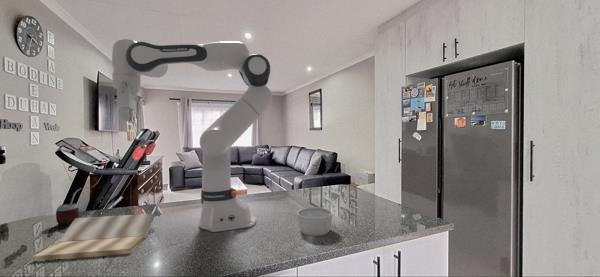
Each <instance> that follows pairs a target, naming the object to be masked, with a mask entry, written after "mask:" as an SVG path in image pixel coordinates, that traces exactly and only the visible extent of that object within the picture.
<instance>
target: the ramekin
mask: <svg viewBox="0 0 600 277" xmlns="http://www.w3.org/2000/svg"><path fill="white" fill-rule="evenodd" d="M296 217H297V221H298V227H299V230H300V232H301V233H303V235H306V236H310V237H320V236H325V235H327V234H328V233H329V232H330V231H331V228H332V220H333V219H332V218H333V212H332V211H331V210H330V209H327V208H325V207H306V208H302V209H299V210H298V211H297V212H296Z"/></svg>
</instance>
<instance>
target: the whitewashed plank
mask: <svg viewBox="0 0 600 277" xmlns="http://www.w3.org/2000/svg"><path fill="white" fill-rule="evenodd" d="M154 217H155V215H154V213H141V214H139V213H138V214H127V215H126V214H124V215H122V214H121V215H109V216H106V215H104V216H93V217H89V216H88V217H78V218H75V219H74V221H73V222H72V223H71V224H70V226H68V227H67V229H66V231H64V233H63V234H62V236H61V238H60V239H59V240H58V242H68V241H81V240H95V239H109V238H122V237H136V236H144V240H145V239H146V237H147V236H148V233H149V230H150V227H151V225H152V223H153V220H154Z"/></svg>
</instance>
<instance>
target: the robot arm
mask: <svg viewBox="0 0 600 277" xmlns="http://www.w3.org/2000/svg"><path fill="white" fill-rule="evenodd" d="M111 55H112V56H111V60H112V61H111V64H112V67H113V71H112V88H113V89H115V90H116V104H117V107H119V108H120V109H121V114H122V115H121V116H122V120H123V121H124V122H125V121H126V122H133V115H134V111H136V110H137V104H138V93H139V92H140V91H141V86H142V85H141V76H147V77H149V78H161V77H164V76H165V74H166V73H167V71H168V66H169V65H174V64H175V65H176V64H191V65H194V66H197V67H199V68H200V69H203V70H205V71H211V72H212V71H213V72H218V71H228V70H237V71H238V73H239V75H240V77H241V78H242V81H243V82H244V83H245V85H246V86H248V88H247V89H246V91H245V92H244V93H242V95H241V96H240V97H239V98H238V99H237V100H236V101H235V102H234V103H233V104H232V105H230V107H229V108H228V109H227V110H226V111H225V112H224V113H222V114H221V115H220V116H219V117H218V118H217V119H216V120H215V121H214V122H213V123H212V124H211V125H210V126H208V127H207V128H206V130H204V131H203V132H202V133H201V135H200V138H199V147H200V149H201V150H202V163H201V164H202V167H201V183H202V184H201V185H202V186H201V187H202V188H201V192H200V203H201V211H200V212H201V213H200V218H199V223H198V227H199V228H200V229H203V230H206V231H209V232H211V233H216V232H217V233H218V232H223V231H224V232H225V231H230V230H231V231H232V230H237V229H239V230H240V229H245V228H251V227H253V226H254V225H255V224H256V222H257V218H256V216H255V215H254V214H252V213H251V209H250V207H249V205H248V204H247V203H246V202H244V201H243V200H241V199H240V198H239V197H237V193H238V192H237V189H236V188H233V187H232V183H231V182H232V181H231V180H232V178H231V177H232V176H231V174H232V173H231V172H232V171H231V167H232V166H231V165H232V164H231V147H232V146H233V145H234V144H235V143H236V141H237V140H239V139H240V138H241V136H242V135H243V134H244V133H245V132H246V131H247V130H248V129H249V128H250V127H251V126H252V125H253V124H254V123H255V122H256V121H257V120H258V119H259V118H260V117H261V116H262V114H264V112H265V111H266V110H268V107H269V105H270V104H271V103H272V101H273V97H274V96H273V93H272V90H270V88H269V87H268V86H267V84H268V82H269V79H270V74H271V64H270V61H269V60H268V58H266V57H265V56H264V55H262V54H258V53H255V54H253V53H252V54H251V55H250V51H249V49H248V47H247V45H246V44H245V43H243V42H241V41H231V40H228V41H214V42H207V43H206V42H205V43H193V44H167V45H157V44H152V43H150V42H146V41H136V40H132V39H126V38H125V39H119V40H117V41H115V43H113V46H112V54H111Z"/></svg>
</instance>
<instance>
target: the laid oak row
mask: <svg viewBox="0 0 600 277" xmlns="http://www.w3.org/2000/svg"><path fill="white" fill-rule="evenodd" d="M144 241H145V239H144V236H136V237H122V238H109V239H95V240H81V241H68V242H59V241H57V242H56V243H54V244H52V245H50V246H48V247H47V248H45V249H43V250H42V251H40V252H38V253H36V254H34V255H33V256H32V262H34V263H35V261H37V262H45V260H49V261H58V260H57V259H61V260H71V259H81V258H95V257H96V258H97V257H107V256H108V257H109V256H118V255H130V254H132V253H133V252H134V251H135V250H136V249H137V248H138V247H139V246H140V245H141V244H142V243H143V242H144ZM55 259H56V260H55Z"/></svg>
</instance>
